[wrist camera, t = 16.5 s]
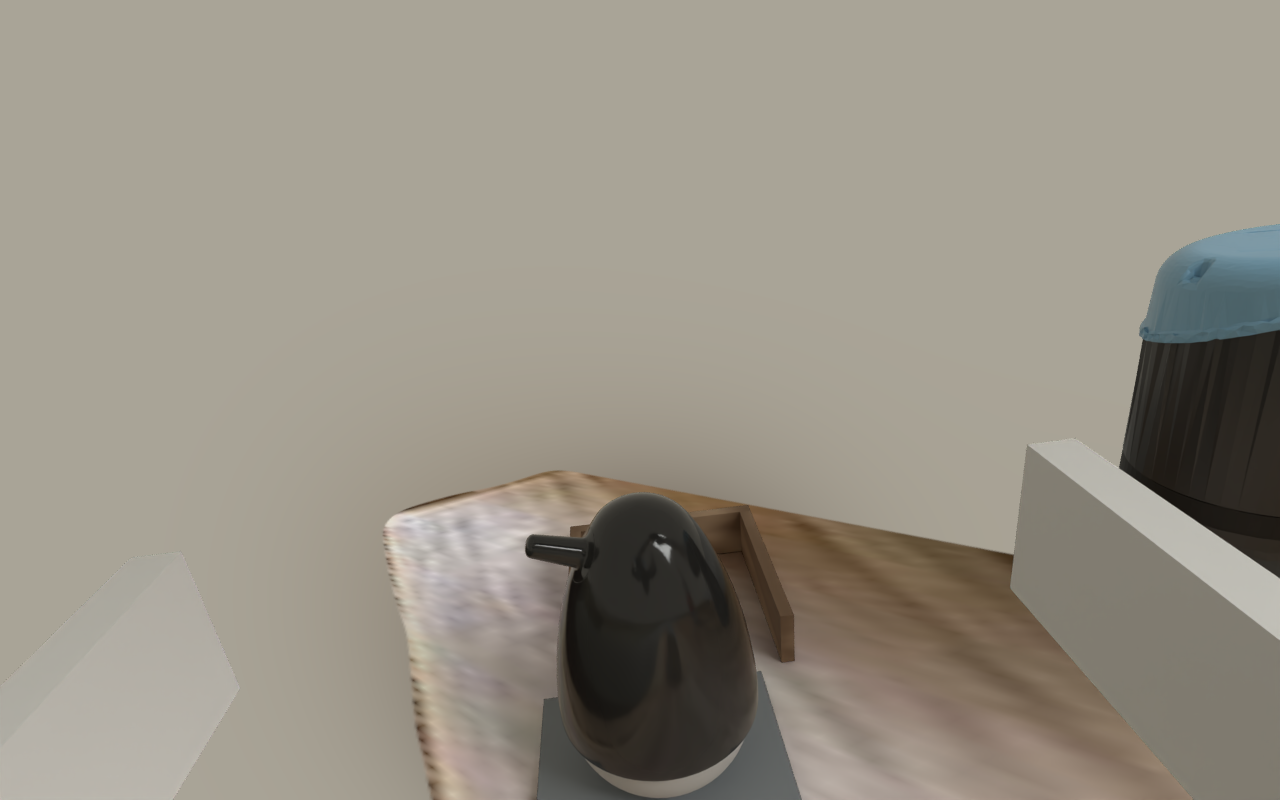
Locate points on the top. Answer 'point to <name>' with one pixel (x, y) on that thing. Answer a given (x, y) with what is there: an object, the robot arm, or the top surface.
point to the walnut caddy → (741, 534)
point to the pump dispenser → (650, 648)
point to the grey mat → (740, 796)
